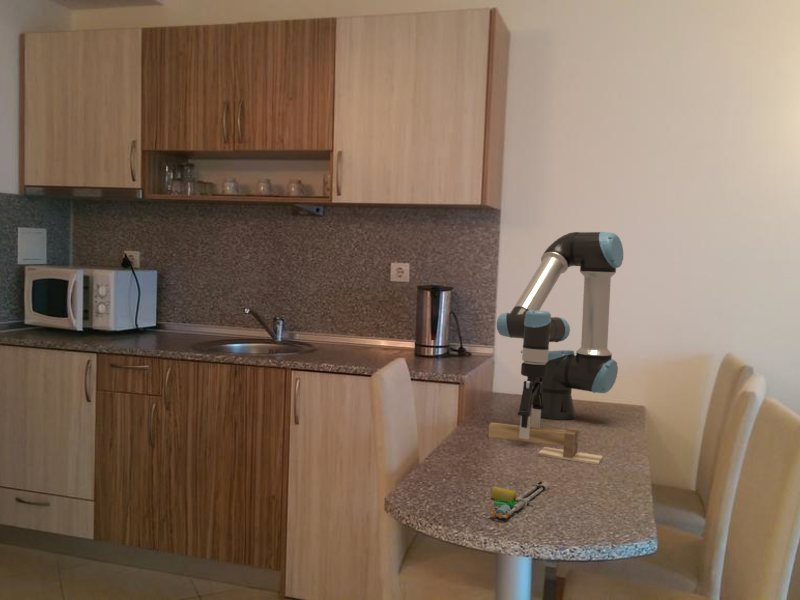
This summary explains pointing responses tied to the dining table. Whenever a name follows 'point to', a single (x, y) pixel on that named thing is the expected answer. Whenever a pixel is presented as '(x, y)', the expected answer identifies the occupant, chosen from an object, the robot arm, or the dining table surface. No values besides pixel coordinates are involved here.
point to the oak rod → (529, 434)
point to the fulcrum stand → (571, 450)
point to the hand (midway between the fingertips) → (529, 434)
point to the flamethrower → (513, 499)
